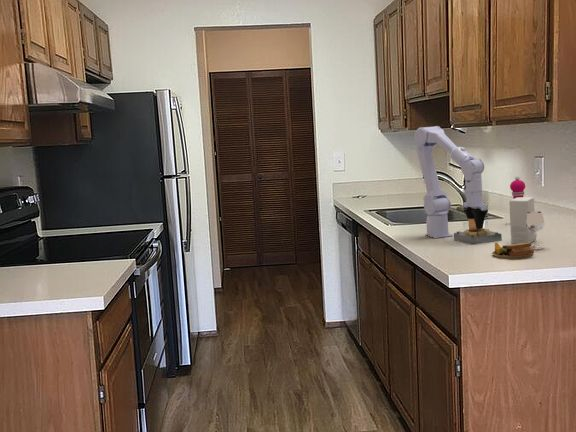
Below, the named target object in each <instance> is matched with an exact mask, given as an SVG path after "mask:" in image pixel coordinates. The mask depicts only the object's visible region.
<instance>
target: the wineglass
mask: <svg viewBox="0 0 576 432" xmlns="http://www.w3.org/2000/svg"><path fill="white" fill-rule="evenodd" d="M525 224H526V227H527V229H529V230H531V231H534V237H535V241H534V245H533V246H532V245H531V246H530V248H531V250H541V249H544V247H543V246H540V245H538V244H537V237H538V233H537V232H538V231H541V230H543V228H544V227H545V218H544V214H543V212H542V211H535V210H534V212H527V214H526V219H525Z"/></svg>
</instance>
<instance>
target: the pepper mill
mask: <svg viewBox="0 0 576 432" xmlns="http://www.w3.org/2000/svg"><path fill="white" fill-rule="evenodd" d="M509 189H510V190H511V191H512V192H511V196H512V199H515V198H518V197H524V195H525V191H524V190H525V189H526V184H525V181H523V180H521V179H520V177H519V176H515V177H514V180H512V182H511V183H510V185H509Z"/></svg>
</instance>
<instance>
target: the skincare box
mask: <svg viewBox="0 0 576 432" xmlns="http://www.w3.org/2000/svg"><path fill="white" fill-rule="evenodd" d="M534 211H535V197H534V196H529V197H528V196H523V197H518V198H515V199H513V198H512V199H511V200H509V221H510V223H509V224H510V243H511V244H519V243H531V244H532V243H533V242H535V237H534V231H531V230H529V229H527V227H526V224H525V219H526V214H527V212H534ZM511 244H510V245H511Z"/></svg>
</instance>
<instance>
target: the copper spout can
mask: <svg viewBox="0 0 576 432" xmlns="http://www.w3.org/2000/svg"><path fill="white" fill-rule="evenodd" d="M467 222H468V229H469V231H471V232H478V231H482V230H481V229H477V228H476V223H475V218H469V219H468V218H467Z"/></svg>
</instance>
